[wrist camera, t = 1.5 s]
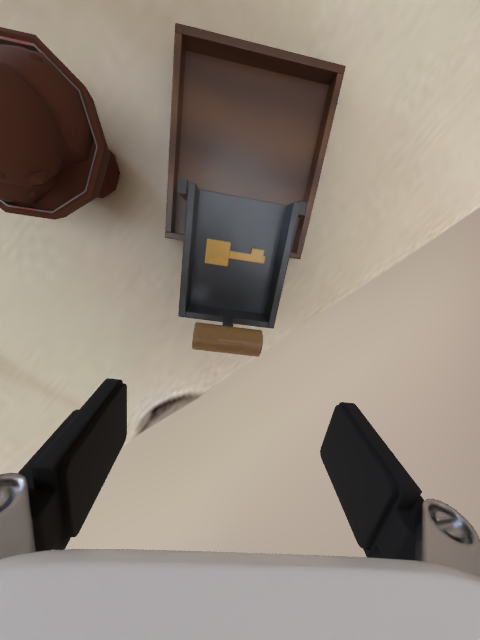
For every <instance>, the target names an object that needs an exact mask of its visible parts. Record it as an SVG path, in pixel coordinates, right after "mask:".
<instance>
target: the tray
mask: <svg viewBox="0 0 480 640" xmlns="http://www.w3.org/2000/svg"><path fill="white" fill-rule="evenodd" d="M344 71H345V66H343V65H339V64H335V63H331V62H327V61H323V60H319V59H316V58H312V57H308V56H304V55H300V54H296V53H292V52H288V51H284V50H280V49H276V48H272V47H268V46H264V45H260V44H257V43H253V42H249V41H245V40H241V39H237V38H233V37H229V36H225V35H221V34H217V33H213V32H209V31H205V30H201V29H198V28H194V27H190V26H186V25H182V24H178V23H176V24H175V43H174V64H173V85H172V105H171V126H170V147H169V168H168V189H167V210H166V232H165V237H166V238H172V239H178V240H184V233H185V219H186V206H187V192H188V182H192V183H196V185H197V186H198V188H199V189H201V190H206V191H212V192H217V193H223V194H228V195H233V196H239V197H244V198H250V199H255V200H261V201H266V202H271V203H277V204H282V205H289V204H291V203H293V202H299V203H301V206H300V210H299V215H298V219H297V224H296V228H295V233H294V238H293V242H292V247H291V251H290V256H289V257H290V258H296V259H300V258H301V254H302V250H303V245H304V241H305V237H306V233H307V228H308V224H309V220H310V216H311V211H312V207H313V203H314V199H315V194H316V190H317V186H318V182H319V177H320V173H321V169H322V165H323V160H324V156H325V152H326V148H327V143H328V139H329V135H330V131H331V126H332V122H333V118H334V114H335V109H336V105H337V101H338V97H339V92H340V88H341V84H342V80H343V74H344Z"/></svg>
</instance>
